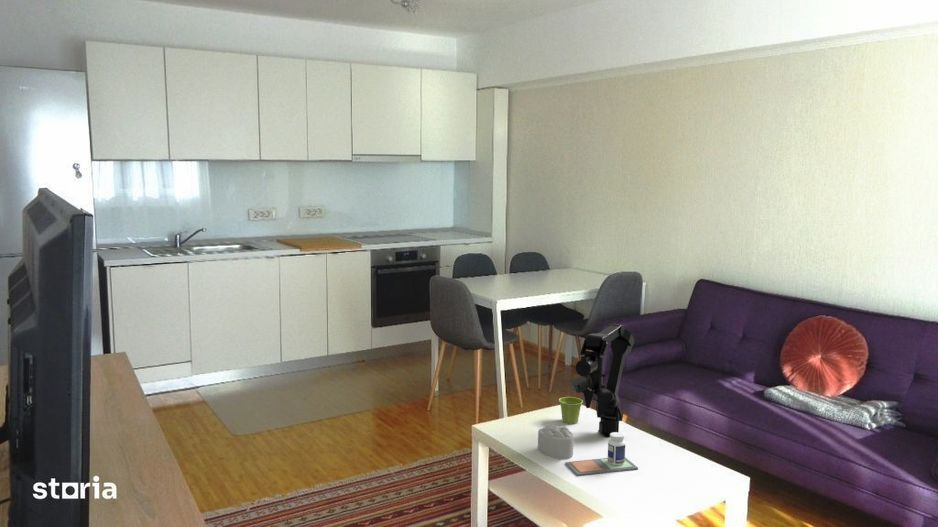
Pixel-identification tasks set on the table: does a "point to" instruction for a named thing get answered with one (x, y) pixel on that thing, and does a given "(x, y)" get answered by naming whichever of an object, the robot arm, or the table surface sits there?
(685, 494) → the table surface
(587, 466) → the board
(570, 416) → the plant pot
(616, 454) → the pill bottle
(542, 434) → the lumpy-topped squat cylinder
